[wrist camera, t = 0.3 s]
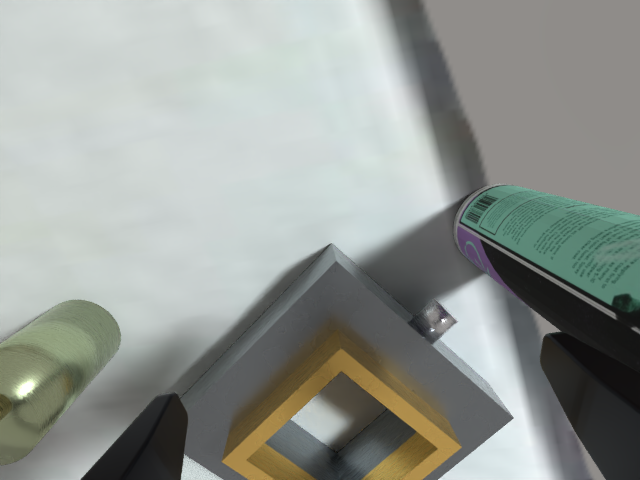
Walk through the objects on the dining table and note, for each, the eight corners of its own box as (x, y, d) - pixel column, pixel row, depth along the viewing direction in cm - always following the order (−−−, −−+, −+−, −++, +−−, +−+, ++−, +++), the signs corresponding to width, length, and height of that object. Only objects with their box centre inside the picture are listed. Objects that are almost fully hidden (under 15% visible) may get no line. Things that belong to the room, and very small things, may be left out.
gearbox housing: (338, 508, 30) (345, 589, 25) (178, 400, 26) (147, 466, 21) (508, 365, 27) (558, 422, 22) (353, 220, 23) (367, 245, 18)
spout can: (93, 378, 26) (-34, 523, 16) (29, 336, 25) (-148, 464, 15) (135, 331, 25) (29, 454, 15) (71, 285, 24) (-88, 386, 14)
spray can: (447, 264, 24) (968, 741, 5) (459, 181, 23) (1252, 422, 4) (527, 266, 25) (1305, 729, 5) (544, 184, 23) (1699, 427, 4)
